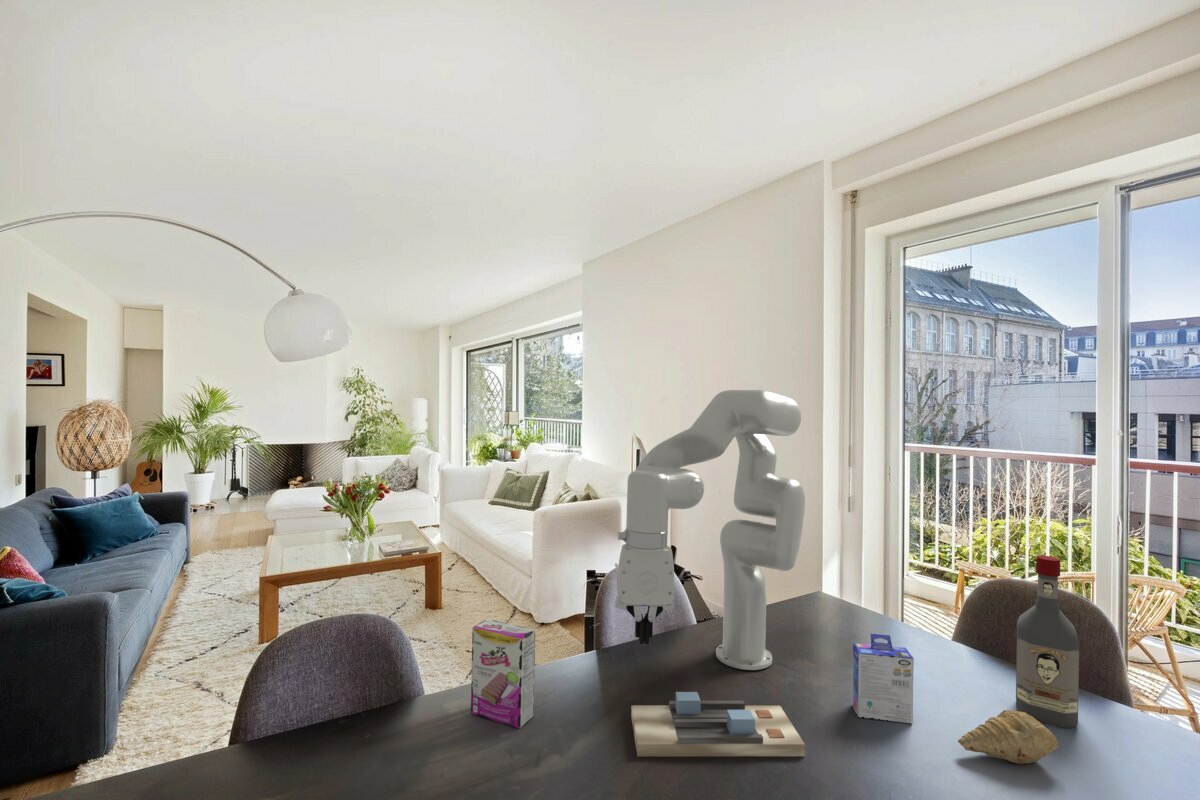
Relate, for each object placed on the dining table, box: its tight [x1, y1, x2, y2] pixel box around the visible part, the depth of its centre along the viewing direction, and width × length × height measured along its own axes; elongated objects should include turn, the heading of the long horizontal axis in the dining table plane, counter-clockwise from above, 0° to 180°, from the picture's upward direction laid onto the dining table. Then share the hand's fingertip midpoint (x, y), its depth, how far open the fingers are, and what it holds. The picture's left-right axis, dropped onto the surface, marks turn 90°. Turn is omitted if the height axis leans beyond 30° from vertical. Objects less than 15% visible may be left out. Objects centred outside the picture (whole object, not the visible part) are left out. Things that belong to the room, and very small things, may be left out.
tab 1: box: [675, 691, 702, 714], centre depth 103 cm, size 3×4×3 cm
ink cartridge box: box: [852, 633, 915, 724], centre depth 108 cm, size 10×6×14 cm, turn 78°
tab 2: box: [727, 710, 755, 734], centre depth 97 cm, size 3×4×3 cm
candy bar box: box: [470, 618, 536, 729], centre depth 105 cm, size 11×5×16 cm, turn 65°
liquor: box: [1015, 554, 1080, 729], centre depth 109 cm, size 9×9×30 cm
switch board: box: [630, 700, 806, 757], centre depth 100 cm, size 12×28×3 cm, turn 92°
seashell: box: [957, 709, 1059, 765], centre depth 95 cm, size 14×8×8 cm, turn 93°
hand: (643, 640), depth 103 cm, fingers closed
